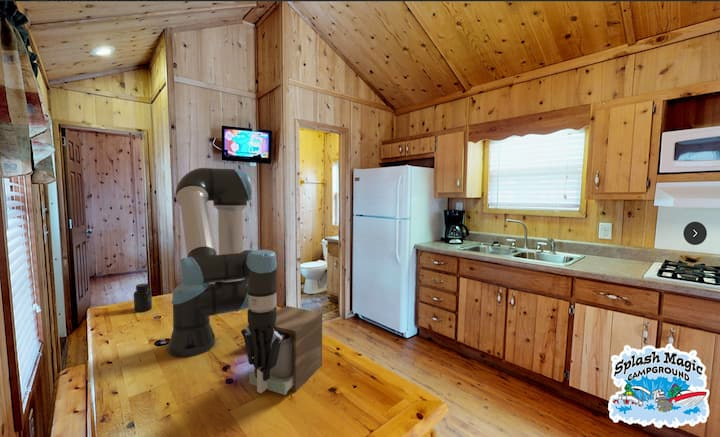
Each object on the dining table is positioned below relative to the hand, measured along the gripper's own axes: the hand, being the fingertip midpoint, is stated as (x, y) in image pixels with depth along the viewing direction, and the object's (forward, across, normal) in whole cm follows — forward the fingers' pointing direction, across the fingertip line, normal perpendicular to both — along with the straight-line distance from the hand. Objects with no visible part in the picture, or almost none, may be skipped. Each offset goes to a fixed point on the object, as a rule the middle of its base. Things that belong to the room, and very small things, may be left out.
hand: (262, 389), depth 88 cm
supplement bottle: (+3, -92, +27) cm, 96 cm away
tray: (+1, 0, +10) cm, 10 cm away
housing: (+2, 0, +13) cm, 13 cm away
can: (0, 0, +9) cm, 9 cm away
